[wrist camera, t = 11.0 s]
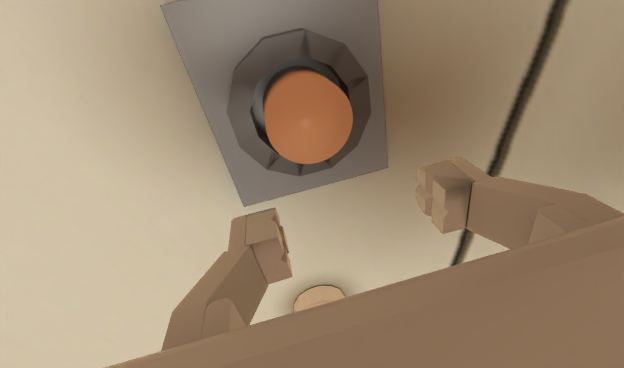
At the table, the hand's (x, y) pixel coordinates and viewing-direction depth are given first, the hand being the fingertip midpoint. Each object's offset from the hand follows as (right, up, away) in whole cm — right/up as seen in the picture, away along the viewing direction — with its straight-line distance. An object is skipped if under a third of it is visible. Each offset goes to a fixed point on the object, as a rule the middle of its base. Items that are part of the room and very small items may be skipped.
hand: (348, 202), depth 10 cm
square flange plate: (-3, +7, +13) cm, 15 cm away
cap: (-2, +7, +12) cm, 14 cm away
